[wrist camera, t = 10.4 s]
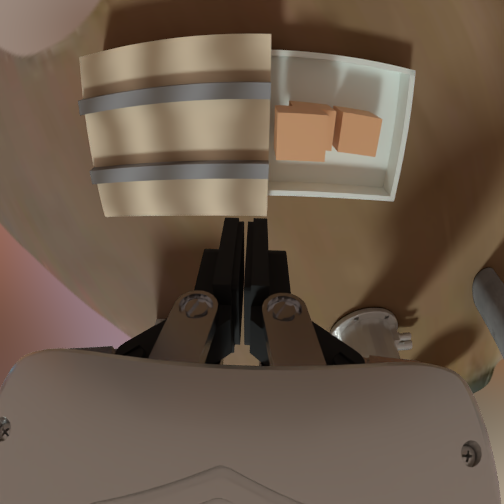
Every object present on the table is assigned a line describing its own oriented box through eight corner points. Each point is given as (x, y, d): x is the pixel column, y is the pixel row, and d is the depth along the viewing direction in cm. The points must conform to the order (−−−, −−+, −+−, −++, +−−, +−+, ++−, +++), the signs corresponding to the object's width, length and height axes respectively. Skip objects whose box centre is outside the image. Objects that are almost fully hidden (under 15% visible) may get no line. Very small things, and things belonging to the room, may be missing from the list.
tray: (403, 68, 25) (415, 70, 23) (384, 190, 34) (393, 201, 32) (269, 50, 25) (270, 49, 23) (266, 183, 34) (266, 195, 32)
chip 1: (319, 107, 25) (328, 115, 22) (316, 148, 27) (324, 162, 24) (274, 105, 25) (277, 112, 22) (273, 146, 27) (276, 160, 24)
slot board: (269, 38, 25) (271, 33, 20) (265, 194, 35) (266, 220, 30) (102, 55, 25) (74, 58, 20) (120, 196, 35) (101, 221, 31)
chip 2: (288, 100, 28) (327, 104, 28) (286, 136, 30) (323, 140, 30) (293, 106, 25) (336, 111, 25) (289, 147, 27) (331, 151, 27)
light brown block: (333, 105, 28) (368, 111, 28) (328, 140, 30) (363, 145, 30) (343, 112, 25) (382, 119, 25) (337, 151, 27) (375, 157, 27)
